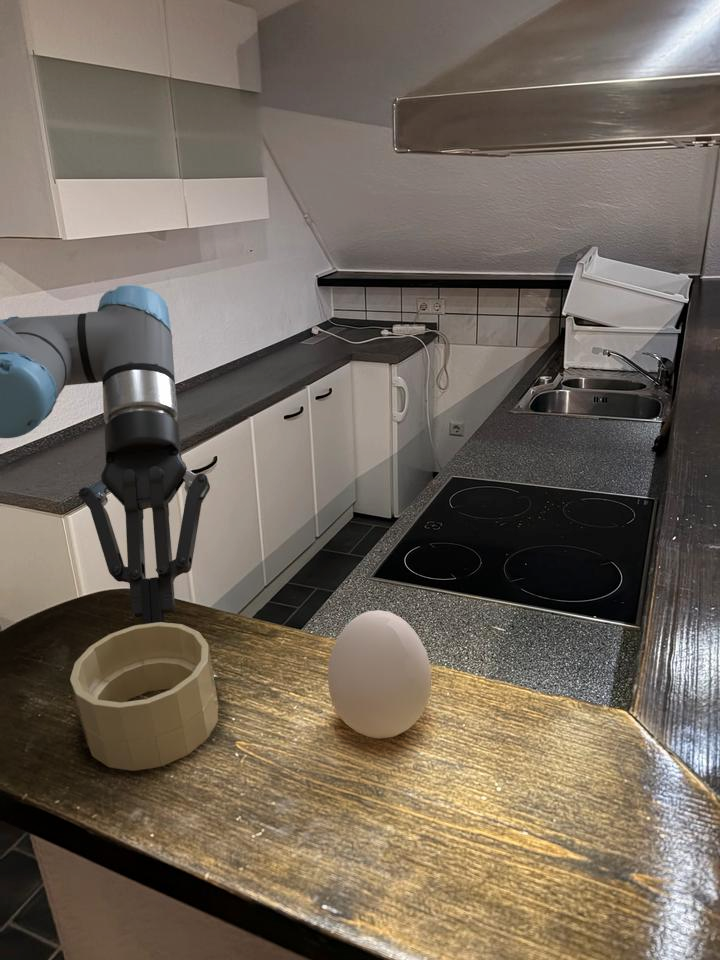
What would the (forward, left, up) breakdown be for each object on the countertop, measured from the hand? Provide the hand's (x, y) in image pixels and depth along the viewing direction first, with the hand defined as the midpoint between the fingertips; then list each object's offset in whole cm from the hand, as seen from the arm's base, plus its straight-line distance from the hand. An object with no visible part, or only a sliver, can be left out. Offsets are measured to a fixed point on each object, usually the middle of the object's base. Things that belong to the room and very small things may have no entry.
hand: (155, 648), depth 72 cm
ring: (0, -7, -4) cm, 8 cm away
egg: (+20, -11, -4) cm, 23 cm away
